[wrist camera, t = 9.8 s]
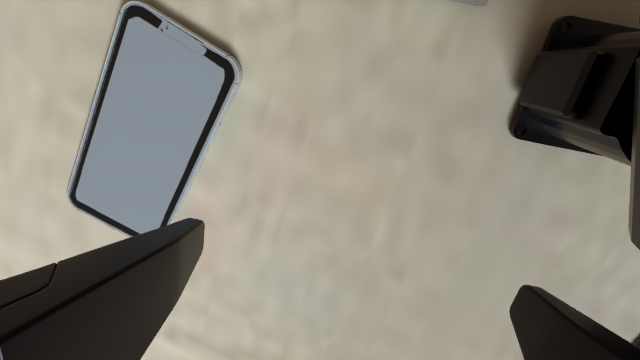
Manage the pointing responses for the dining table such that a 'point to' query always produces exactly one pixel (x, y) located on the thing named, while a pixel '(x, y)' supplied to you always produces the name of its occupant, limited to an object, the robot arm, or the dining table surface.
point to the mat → (473, 2)
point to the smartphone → (150, 121)
